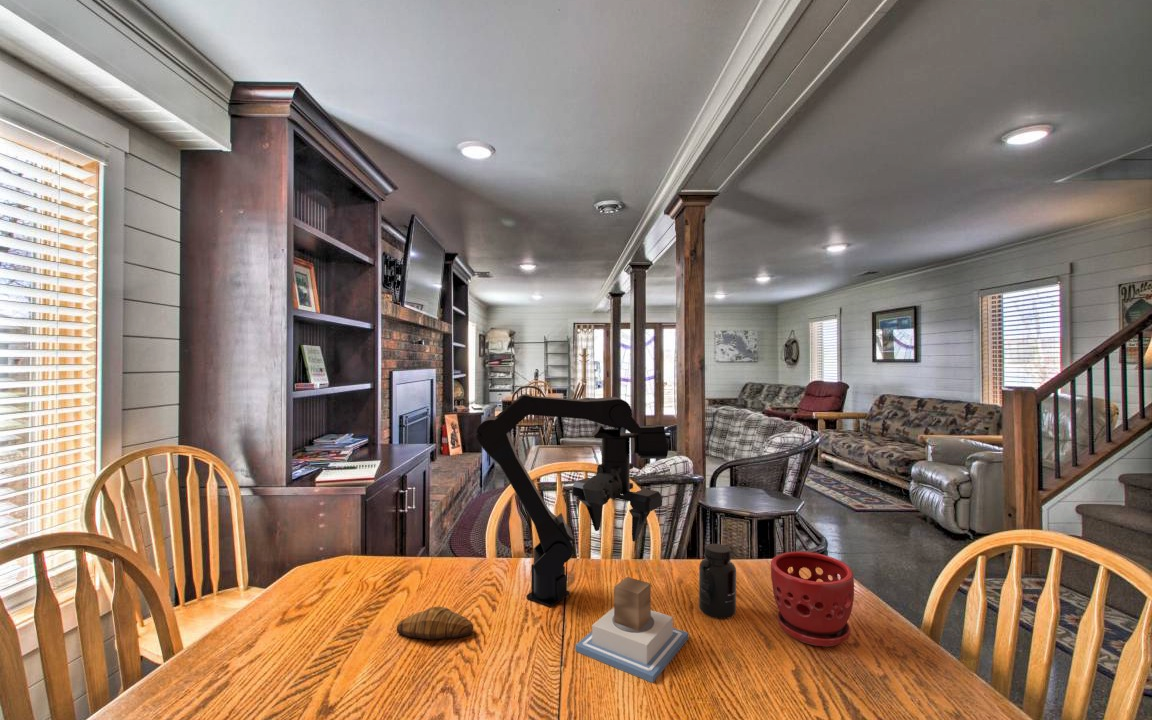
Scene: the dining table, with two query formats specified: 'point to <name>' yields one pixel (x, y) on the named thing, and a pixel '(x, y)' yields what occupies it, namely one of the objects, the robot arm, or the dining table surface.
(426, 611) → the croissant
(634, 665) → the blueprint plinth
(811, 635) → the plant pot
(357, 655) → the dining table surface
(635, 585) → the walnut block
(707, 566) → the supplement bottle
